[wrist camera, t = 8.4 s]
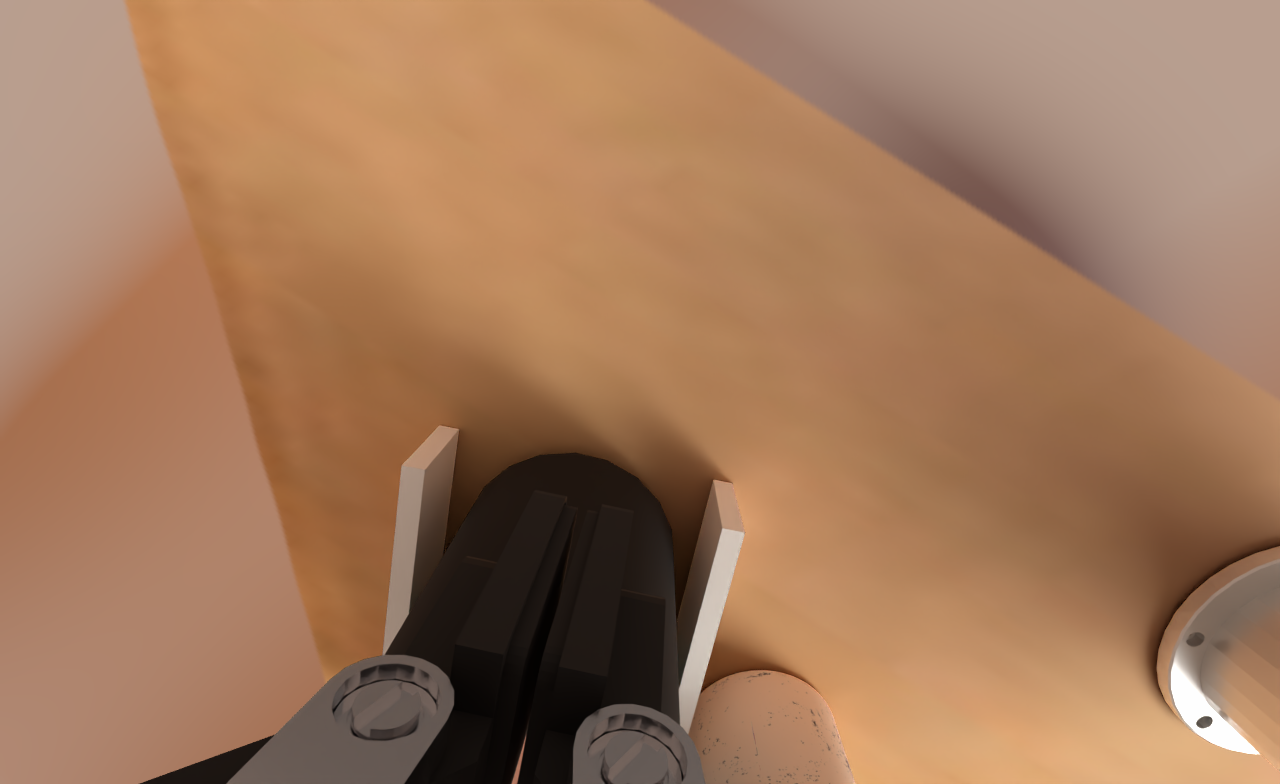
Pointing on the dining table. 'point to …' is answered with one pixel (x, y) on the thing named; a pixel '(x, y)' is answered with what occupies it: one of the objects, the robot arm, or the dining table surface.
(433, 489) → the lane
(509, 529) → the coffee jar
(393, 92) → the dining table surface
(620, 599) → the robot arm
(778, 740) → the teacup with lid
